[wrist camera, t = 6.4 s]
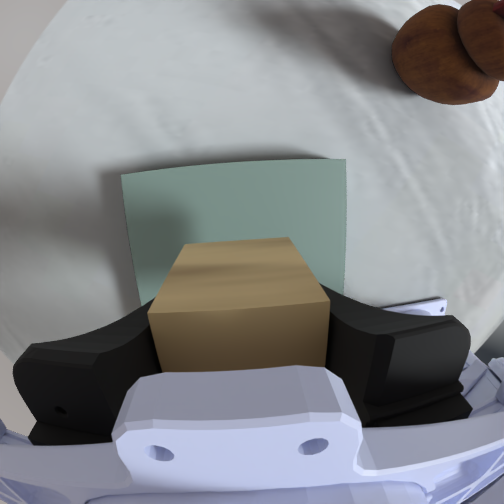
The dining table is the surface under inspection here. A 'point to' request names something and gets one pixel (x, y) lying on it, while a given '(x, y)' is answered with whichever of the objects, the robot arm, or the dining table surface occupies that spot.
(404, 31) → the wooden figurine
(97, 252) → the dining table surface
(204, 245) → the block
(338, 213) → the green flat slab
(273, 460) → the robot arm
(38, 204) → the dining table surface
